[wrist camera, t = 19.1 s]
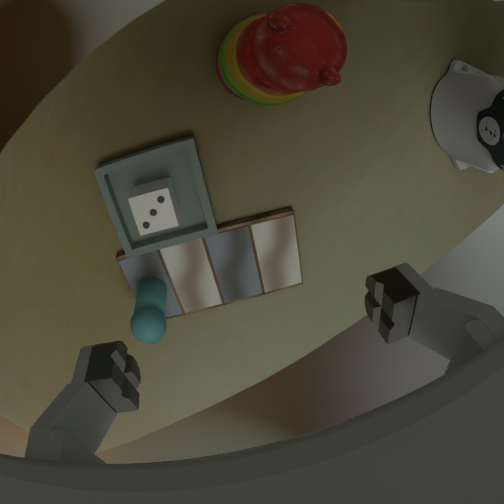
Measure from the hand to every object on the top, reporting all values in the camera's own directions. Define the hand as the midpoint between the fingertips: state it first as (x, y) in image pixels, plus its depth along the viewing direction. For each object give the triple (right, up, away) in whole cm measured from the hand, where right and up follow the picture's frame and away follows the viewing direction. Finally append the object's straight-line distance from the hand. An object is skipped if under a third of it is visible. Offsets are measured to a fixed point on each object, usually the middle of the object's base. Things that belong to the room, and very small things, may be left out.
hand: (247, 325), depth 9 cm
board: (-5, 0, +33) cm, 33 cm away
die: (-11, +9, +26) cm, 29 cm away
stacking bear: (+1, +24, +21) cm, 32 cm away
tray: (-11, +9, +26) cm, 30 cm away
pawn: (-14, -3, +31) cm, 34 cm away
